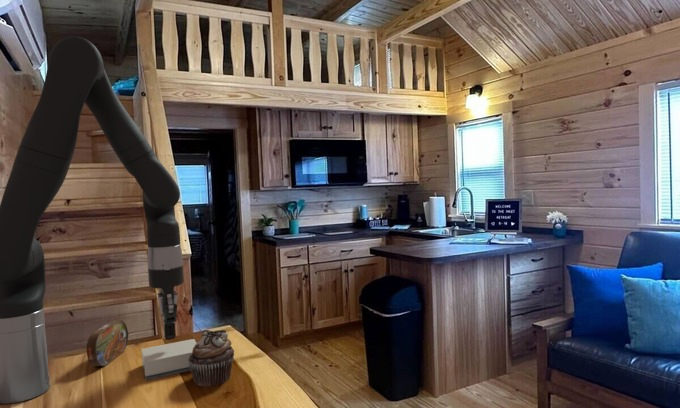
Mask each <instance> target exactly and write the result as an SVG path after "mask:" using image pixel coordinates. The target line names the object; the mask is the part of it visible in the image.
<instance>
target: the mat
mask: <svg viewBox="0 0 680 408" xmlns="http://www.w3.org/2000/svg"><path fill="white" fill-rule="evenodd" d="M142 370H144V367H143V366H142ZM187 372H191V369H190V367H189V368H185V369H180V370H175V371H171V372H166V373H162V374H157V375H152V376H148V377H147V376H145V372H144V371H143V374H144V378H145V379H144V380H145V381H150V380H155V379H159V378H160V379H161V378H164V377H168V376H173V375H178V374H182V373H187Z"/></svg>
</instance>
